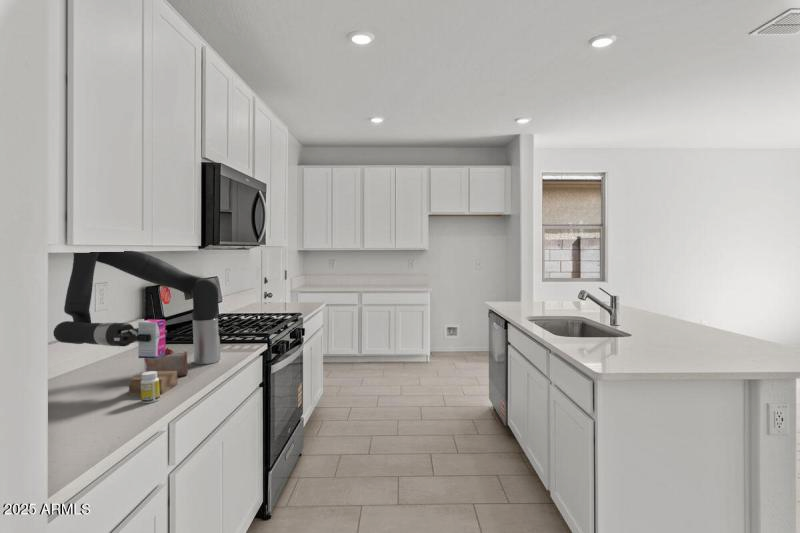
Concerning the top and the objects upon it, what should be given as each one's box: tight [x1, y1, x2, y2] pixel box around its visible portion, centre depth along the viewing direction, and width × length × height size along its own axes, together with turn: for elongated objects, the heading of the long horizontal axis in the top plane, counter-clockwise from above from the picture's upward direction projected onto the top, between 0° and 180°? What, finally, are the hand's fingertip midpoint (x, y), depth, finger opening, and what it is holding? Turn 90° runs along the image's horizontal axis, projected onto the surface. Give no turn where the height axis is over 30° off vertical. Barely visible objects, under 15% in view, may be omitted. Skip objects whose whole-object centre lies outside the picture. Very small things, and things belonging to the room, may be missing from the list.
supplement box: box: [137, 318, 166, 359], centre depth 143 cm, size 6×6×12 cm
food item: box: [144, 347, 189, 378], centre depth 160 cm, size 14×8×10 cm, turn 109°
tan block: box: [128, 371, 179, 396], centre depth 144 cm, size 10×10×5 cm
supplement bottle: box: [140, 371, 161, 404], centre depth 133 cm, size 5×5×8 cm
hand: (158, 336), depth 143 cm, fingers closed on supplement box, 6 cm apart
